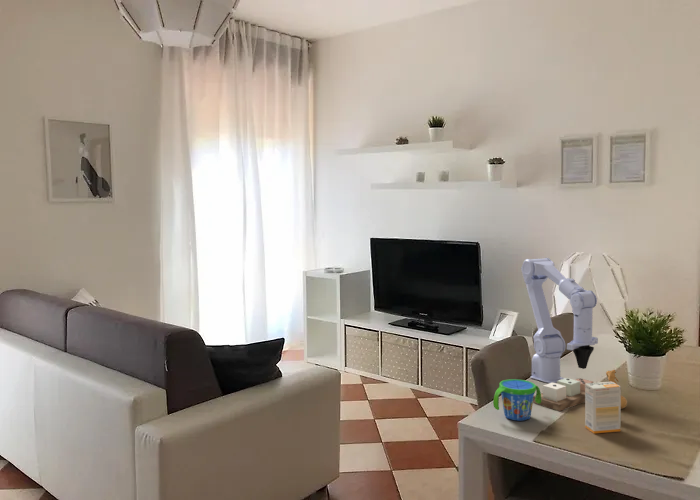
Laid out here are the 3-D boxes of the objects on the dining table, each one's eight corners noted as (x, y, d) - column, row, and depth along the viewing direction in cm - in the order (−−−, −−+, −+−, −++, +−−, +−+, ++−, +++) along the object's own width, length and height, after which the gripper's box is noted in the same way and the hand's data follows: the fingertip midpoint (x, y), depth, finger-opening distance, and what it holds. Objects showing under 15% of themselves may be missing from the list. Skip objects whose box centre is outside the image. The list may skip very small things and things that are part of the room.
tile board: (559, 411, 178) (559, 404, 178) (532, 402, 186) (532, 396, 186) (603, 394, 192) (603, 388, 192) (576, 387, 200) (576, 381, 200)
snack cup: (531, 408, 181) (531, 376, 180) (550, 420, 171) (550, 386, 170) (485, 413, 178) (485, 381, 177) (502, 426, 167) (502, 392, 167)
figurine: (624, 413, 175) (625, 374, 174) (603, 410, 178) (603, 372, 177) (628, 405, 182) (629, 367, 181) (608, 402, 185) (608, 365, 184)
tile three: (584, 396, 190) (584, 384, 190) (571, 392, 194) (571, 380, 194) (593, 393, 193) (593, 381, 192) (579, 389, 197) (580, 377, 196)
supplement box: (611, 425, 166) (611, 380, 165) (621, 432, 162) (621, 386, 160) (584, 427, 165) (584, 382, 164) (593, 434, 161) (593, 388, 159)
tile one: (556, 401, 181) (556, 388, 181) (542, 397, 185) (542, 384, 185) (566, 398, 184) (566, 385, 184) (552, 394, 188) (552, 381, 188)
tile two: (570, 396, 185) (570, 383, 185) (557, 392, 190) (557, 380, 189) (580, 393, 188) (580, 380, 188) (566, 389, 192) (566, 377, 192)
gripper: (580, 333, 184) (580, 374, 185) (606, 326, 192) (605, 366, 194) (561, 329, 190) (560, 369, 191) (587, 322, 198) (586, 361, 199)
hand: (582, 367), depth 193 cm, fingers closed
